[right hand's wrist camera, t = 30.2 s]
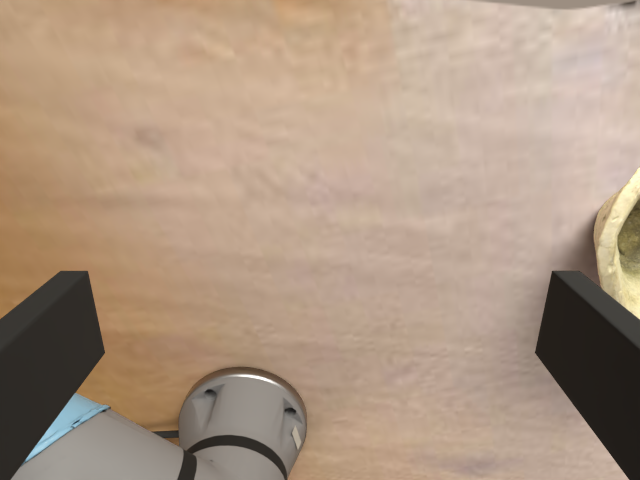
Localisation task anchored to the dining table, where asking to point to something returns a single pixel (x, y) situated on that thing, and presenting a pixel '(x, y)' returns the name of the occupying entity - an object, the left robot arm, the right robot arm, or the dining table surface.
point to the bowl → (620, 245)
